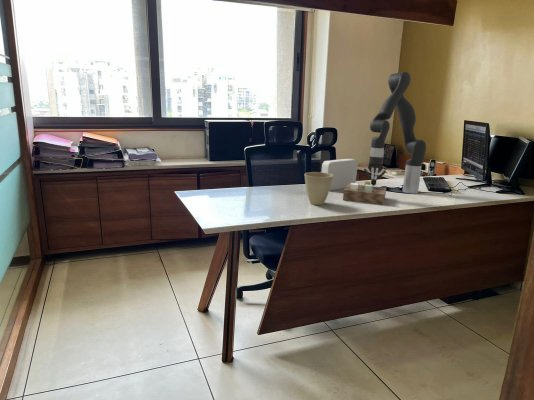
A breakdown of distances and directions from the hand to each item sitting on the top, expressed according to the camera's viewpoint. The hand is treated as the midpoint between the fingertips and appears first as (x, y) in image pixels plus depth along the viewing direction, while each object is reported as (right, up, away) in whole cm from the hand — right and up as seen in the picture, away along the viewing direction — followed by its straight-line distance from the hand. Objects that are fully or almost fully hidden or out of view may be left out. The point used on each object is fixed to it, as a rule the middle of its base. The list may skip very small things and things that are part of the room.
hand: (373, 185), depth 218 cm
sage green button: (-5, -5, -6) cm, 9 cm away
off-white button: (-12, -4, -4) cm, 13 cm away
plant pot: (-35, -10, -14) cm, 39 cm away
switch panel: (-5, -8, -1) cm, 10 cm away
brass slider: (-3, -1, +2) cm, 4 cm away
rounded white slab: (-15, -1, +26) cm, 30 cm away
